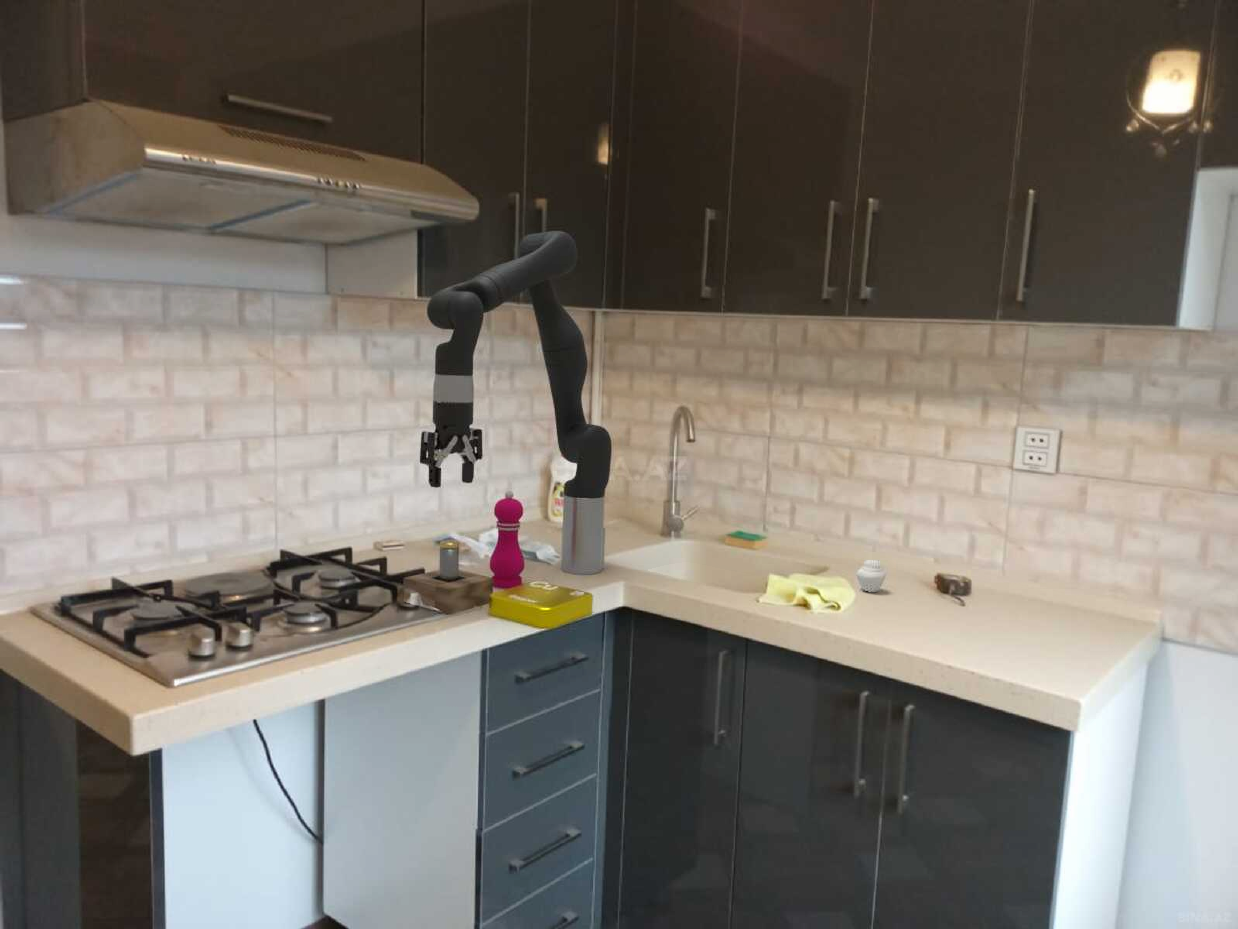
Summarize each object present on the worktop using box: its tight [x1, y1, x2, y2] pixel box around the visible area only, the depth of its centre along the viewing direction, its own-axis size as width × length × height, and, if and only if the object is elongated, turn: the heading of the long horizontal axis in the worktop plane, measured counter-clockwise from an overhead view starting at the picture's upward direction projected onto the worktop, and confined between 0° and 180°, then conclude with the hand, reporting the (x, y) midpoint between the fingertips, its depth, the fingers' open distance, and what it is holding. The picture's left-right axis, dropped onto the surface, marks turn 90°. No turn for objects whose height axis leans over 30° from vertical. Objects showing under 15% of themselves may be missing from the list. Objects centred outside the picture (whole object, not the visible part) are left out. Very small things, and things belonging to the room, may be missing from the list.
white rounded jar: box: [856, 558, 886, 593], centre depth 206 cm, size 6×6×7 cm
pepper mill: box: [489, 490, 525, 590], centre depth 196 cm, size 7×7×20 cm
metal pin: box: [438, 539, 460, 583], centre depth 181 cm, size 4×4×12 cm
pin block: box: [402, 569, 494, 616], centre depth 181 cm, size 12×12×5 cm
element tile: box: [488, 580, 594, 630], centre depth 177 cm, size 15×15×5 cm
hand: (451, 484), depth 179 cm, fingers open, 8 cm apart
